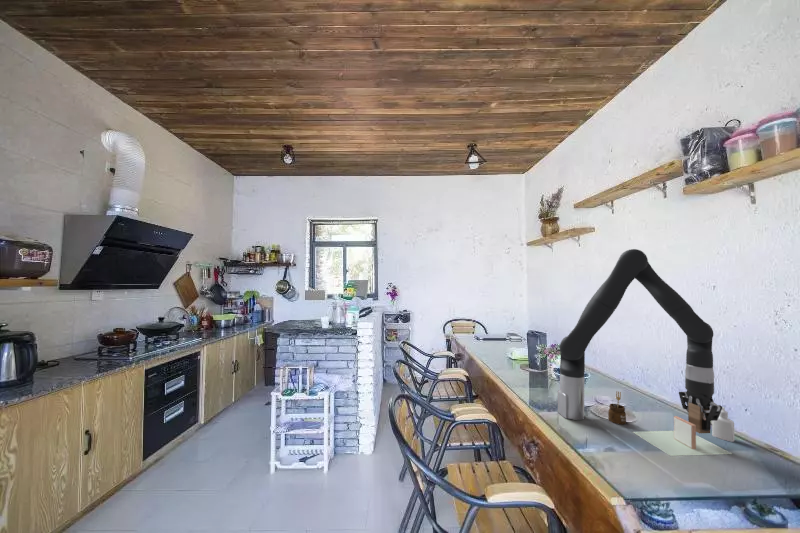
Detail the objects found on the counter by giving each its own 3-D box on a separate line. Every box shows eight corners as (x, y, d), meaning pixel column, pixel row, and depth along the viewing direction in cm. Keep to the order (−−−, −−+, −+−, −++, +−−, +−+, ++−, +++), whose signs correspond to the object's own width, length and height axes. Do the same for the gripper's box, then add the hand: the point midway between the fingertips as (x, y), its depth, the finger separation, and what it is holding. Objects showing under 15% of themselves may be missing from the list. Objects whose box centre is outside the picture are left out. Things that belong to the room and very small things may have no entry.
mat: (670, 459, 107) (670, 455, 107) (632, 434, 123) (632, 431, 123) (732, 456, 109) (732, 453, 109) (687, 432, 124) (687, 430, 124)
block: (699, 433, 113) (699, 407, 113) (688, 427, 117) (688, 402, 117) (710, 433, 114) (710, 407, 114) (698, 427, 118) (699, 402, 118)
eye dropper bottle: (720, 436, 122) (720, 404, 122) (737, 444, 116) (737, 410, 117) (709, 436, 122) (709, 404, 122) (725, 444, 116) (725, 410, 116)
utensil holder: (606, 423, 132) (606, 393, 132) (610, 418, 136) (610, 389, 136) (624, 428, 128) (624, 397, 128) (627, 423, 132) (627, 393, 132)
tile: (692, 449, 111) (692, 425, 111) (673, 438, 118) (673, 416, 118) (695, 448, 111) (695, 425, 111) (677, 438, 118) (677, 416, 118)
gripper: (671, 372, 122) (671, 418, 122) (710, 385, 108) (709, 437, 108) (689, 371, 123) (689, 417, 123) (730, 385, 109) (730, 437, 109)
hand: (699, 426), depth 115 cm, fingers closed on block, 4 cm apart
